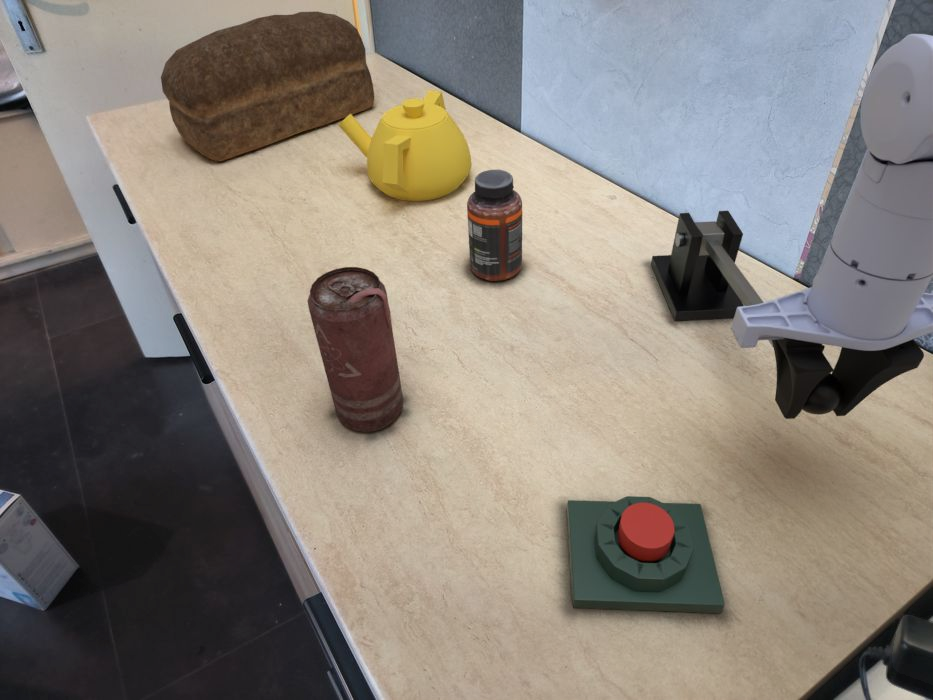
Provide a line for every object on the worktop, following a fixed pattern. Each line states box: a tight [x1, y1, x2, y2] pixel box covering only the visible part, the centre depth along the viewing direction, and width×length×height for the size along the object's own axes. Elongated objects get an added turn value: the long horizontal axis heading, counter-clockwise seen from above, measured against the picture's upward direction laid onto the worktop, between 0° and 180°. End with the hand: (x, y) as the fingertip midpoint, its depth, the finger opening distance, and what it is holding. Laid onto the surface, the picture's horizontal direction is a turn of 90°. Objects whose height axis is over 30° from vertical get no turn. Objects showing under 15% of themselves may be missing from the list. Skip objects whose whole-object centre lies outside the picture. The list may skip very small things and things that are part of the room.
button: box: [618, 503, 675, 561], centre depth 45 cm, size 4×4×2 cm
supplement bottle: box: [466, 169, 523, 282], centre depth 71 cm, size 6×6×11 cm
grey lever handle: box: [694, 220, 843, 416], centre depth 56 cm, size 27×3×3 cm, turn 2°
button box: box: [566, 495, 726, 614], centre depth 46 cm, size 10×8×3 cm
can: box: [307, 266, 404, 433], centre depth 55 cm, size 6×6×14 cm
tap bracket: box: [650, 210, 744, 322], centre depth 67 cm, size 10×7×8 cm
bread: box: [160, 11, 375, 162], centre depth 102 cm, size 15×32×16 cm, turn 130°
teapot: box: [337, 89, 473, 202], centre depth 87 cm, size 20×18×11 cm
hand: (810, 407), depth 48 cm, fingers closed on grey lever handle, 3 cm apart
